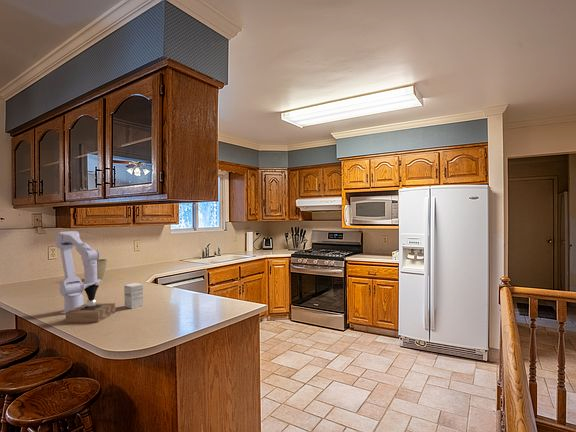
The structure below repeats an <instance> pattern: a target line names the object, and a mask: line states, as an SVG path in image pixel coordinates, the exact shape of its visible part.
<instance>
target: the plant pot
mask: <svg viewBox="0 0 576 432" xmlns="http://www.w3.org/2000/svg"><path fill="white" fill-rule="evenodd" d="M107 262H108V261H107V259H105V258H104V259H103V258H102V259H101V258H99V259H98V260H97V279H101V281H102V280H103V278H104V275H105V271H106V267H107Z"/></svg>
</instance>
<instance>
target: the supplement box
mask: <svg viewBox="0 0 576 432" xmlns="http://www.w3.org/2000/svg"><path fill="white" fill-rule="evenodd" d="M143 306H144V284H143V283H137V282H134V283H128V284H124V307H125V308H129V309H131V310H133V309H136V308H141V307H143Z"/></svg>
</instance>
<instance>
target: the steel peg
mask: <svg viewBox="0 0 576 432" xmlns="http://www.w3.org/2000/svg"><path fill="white" fill-rule="evenodd" d="M96 303H97V299H96V298H94V300H89V299H87V300H86V304H87V308H94V307H96Z"/></svg>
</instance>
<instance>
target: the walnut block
mask: <svg viewBox="0 0 576 432" xmlns="http://www.w3.org/2000/svg"><path fill="white" fill-rule="evenodd" d="M115 313H116V303H115V302H106V303H105V302H104V303H103V302H102V303H97V302H96V307H94V308H87V303H84V305H81V306H79V307H77V308H75V309H73V310H70V311H68V312H66V313H65V323H66V324H67V323H69V324H71V323H72V324H73V323H75V324H76V323H77V324H78V323H81V324H82V323H100V322H101V321H104V320H105V319H107V318H108V317H111V316H112V315H114V314H115Z"/></svg>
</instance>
